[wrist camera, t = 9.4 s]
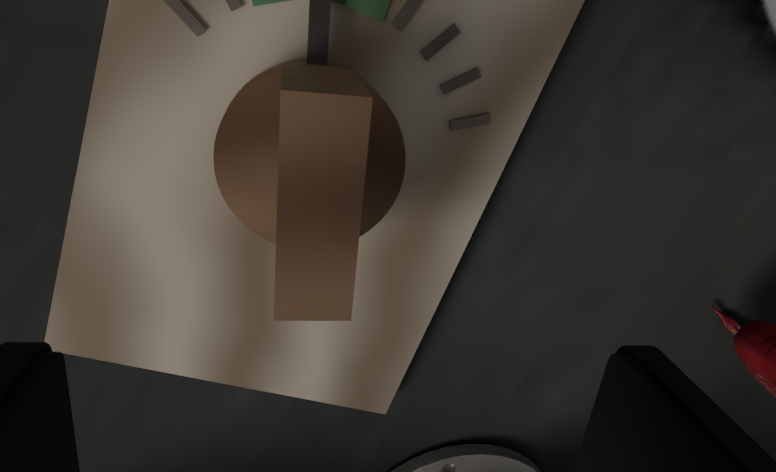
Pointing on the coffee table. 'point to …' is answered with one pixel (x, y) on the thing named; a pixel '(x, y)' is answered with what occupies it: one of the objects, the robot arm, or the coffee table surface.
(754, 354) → the decorative bird figurine
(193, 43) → the dial board
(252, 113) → the knob
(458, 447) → the robot arm
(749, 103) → the coffee table surface
